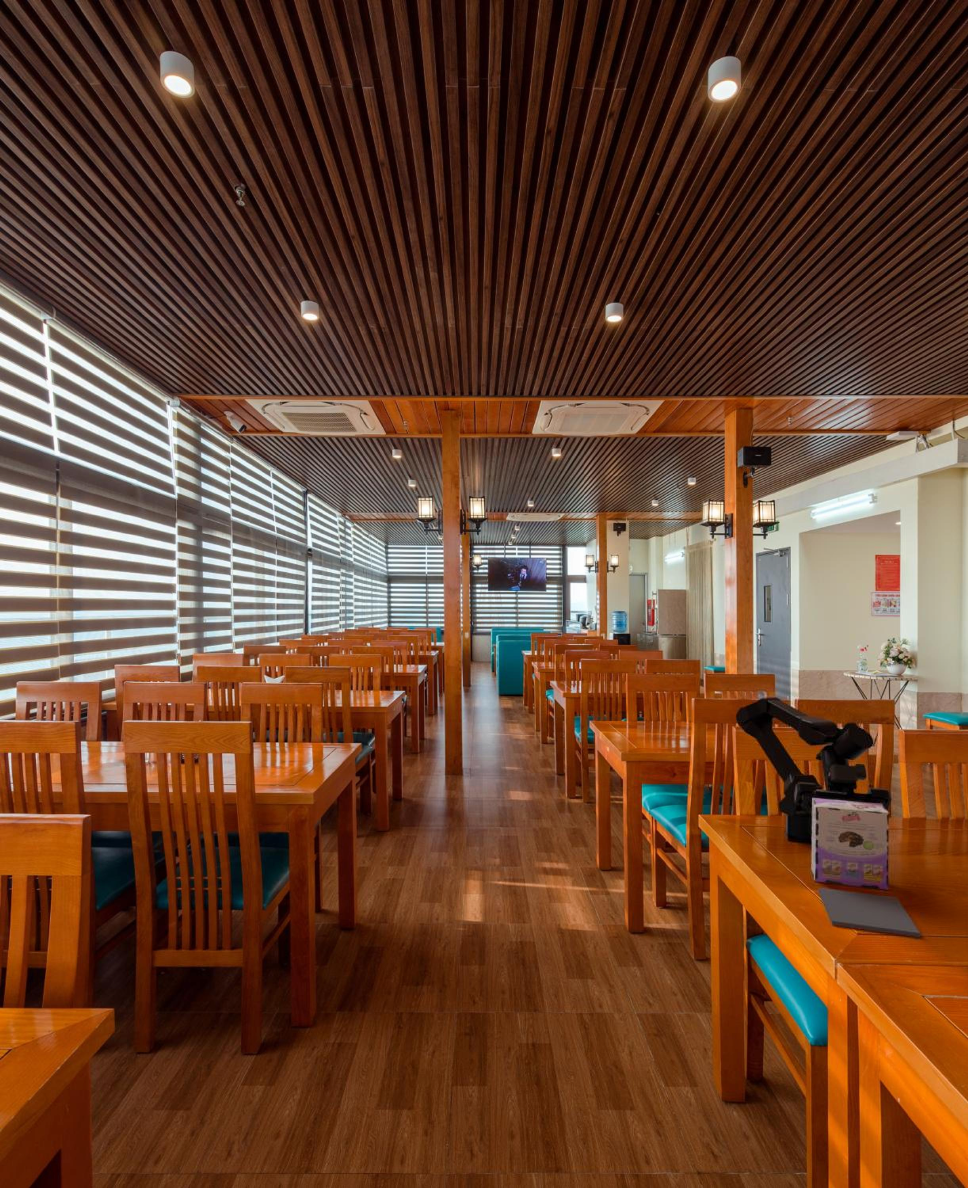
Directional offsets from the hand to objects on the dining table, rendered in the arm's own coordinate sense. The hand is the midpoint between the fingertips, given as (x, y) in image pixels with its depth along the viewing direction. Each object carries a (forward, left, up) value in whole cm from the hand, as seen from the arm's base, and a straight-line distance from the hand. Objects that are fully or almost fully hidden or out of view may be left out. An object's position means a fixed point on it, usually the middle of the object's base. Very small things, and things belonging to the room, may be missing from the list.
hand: (847, 832), depth 145 cm
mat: (0, -18, -10) cm, 20 cm away
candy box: (0, -2, -10) cm, 10 cm away
